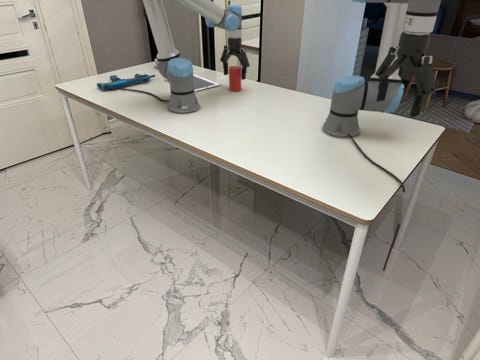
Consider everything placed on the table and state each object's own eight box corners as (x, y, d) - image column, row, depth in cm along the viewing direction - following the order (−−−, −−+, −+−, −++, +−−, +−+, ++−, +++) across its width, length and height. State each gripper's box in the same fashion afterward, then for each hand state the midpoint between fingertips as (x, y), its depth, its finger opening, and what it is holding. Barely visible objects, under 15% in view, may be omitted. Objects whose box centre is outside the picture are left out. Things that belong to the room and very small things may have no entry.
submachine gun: (141, 68, 225) (159, 74, 208) (142, 74, 227) (160, 80, 210) (89, 78, 206) (104, 86, 190) (91, 84, 208) (106, 92, 192)
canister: (230, 87, 201) (229, 65, 194) (241, 87, 200) (241, 66, 193) (228, 91, 195) (228, 69, 188) (240, 91, 194) (240, 69, 187)
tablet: (164, 79, 213) (164, 79, 213) (191, 73, 224) (191, 73, 224) (193, 92, 193) (193, 91, 193) (221, 85, 204) (221, 84, 204)
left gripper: (256, 39, 177) (255, 80, 189) (222, 33, 191) (223, 71, 203) (247, 41, 172) (246, 82, 184) (213, 35, 186) (214, 74, 198)
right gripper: (372, 26, 99) (359, 96, 111) (446, 42, 80) (420, 125, 92) (392, 24, 102) (377, 93, 113) (468, 39, 82) (440, 121, 94)
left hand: (234, 77), depth 193 cm, fingers open, 13 cm apart
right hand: (396, 108), depth 102 cm, fingers open, 13 cm apart
